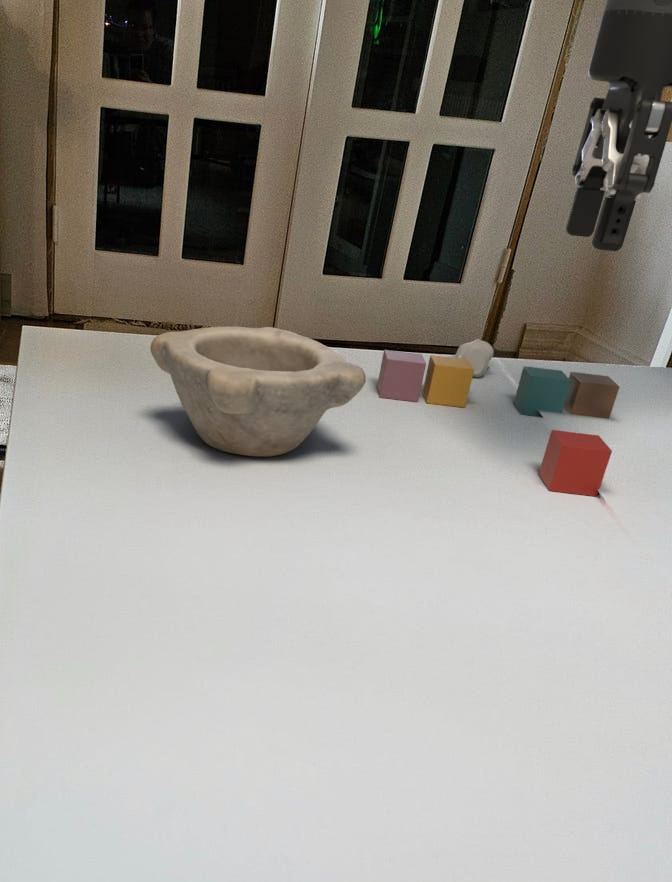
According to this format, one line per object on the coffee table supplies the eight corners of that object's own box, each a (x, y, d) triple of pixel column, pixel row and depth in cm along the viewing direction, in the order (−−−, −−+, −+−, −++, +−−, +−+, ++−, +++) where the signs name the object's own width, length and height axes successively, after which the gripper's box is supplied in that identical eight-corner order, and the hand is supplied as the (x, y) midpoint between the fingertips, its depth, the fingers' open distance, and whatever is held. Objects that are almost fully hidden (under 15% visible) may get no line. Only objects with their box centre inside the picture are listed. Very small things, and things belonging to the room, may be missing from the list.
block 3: (550, 407, 113) (561, 370, 111) (559, 419, 109) (571, 380, 107) (513, 403, 113) (523, 365, 111) (521, 414, 109) (531, 376, 107)
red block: (584, 479, 92) (599, 435, 89) (597, 496, 88) (612, 450, 86) (538, 474, 92) (551, 429, 90) (548, 491, 88) (562, 444, 86)
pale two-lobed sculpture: (457, 370, 129) (496, 365, 127) (448, 382, 123) (489, 377, 121) (454, 338, 128) (494, 333, 126) (446, 348, 121) (487, 342, 119)
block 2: (459, 397, 113) (468, 359, 111) (465, 407, 110) (474, 369, 107) (422, 392, 114) (430, 355, 111) (426, 403, 110) (435, 364, 107)
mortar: (205, 480, 82) (217, 376, 77) (134, 417, 95) (140, 324, 90) (365, 467, 89) (384, 371, 84) (278, 410, 102) (291, 323, 97)
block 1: (413, 391, 114) (421, 354, 111) (417, 402, 110) (426, 363, 108) (376, 387, 114) (384, 349, 112) (379, 397, 110) (387, 358, 108)
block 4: (596, 413, 113) (608, 376, 111) (607, 424, 109) (620, 386, 107) (559, 408, 113) (570, 371, 111) (568, 420, 109) (580, 381, 107)
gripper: (747, 9, 64) (664, 261, 72) (675, 21, 76) (611, 235, 85) (636, -2, 64) (566, 250, 73) (582, 12, 77) (528, 226, 85)
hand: (591, 242), depth 79 cm, fingers open, 8 cm apart
